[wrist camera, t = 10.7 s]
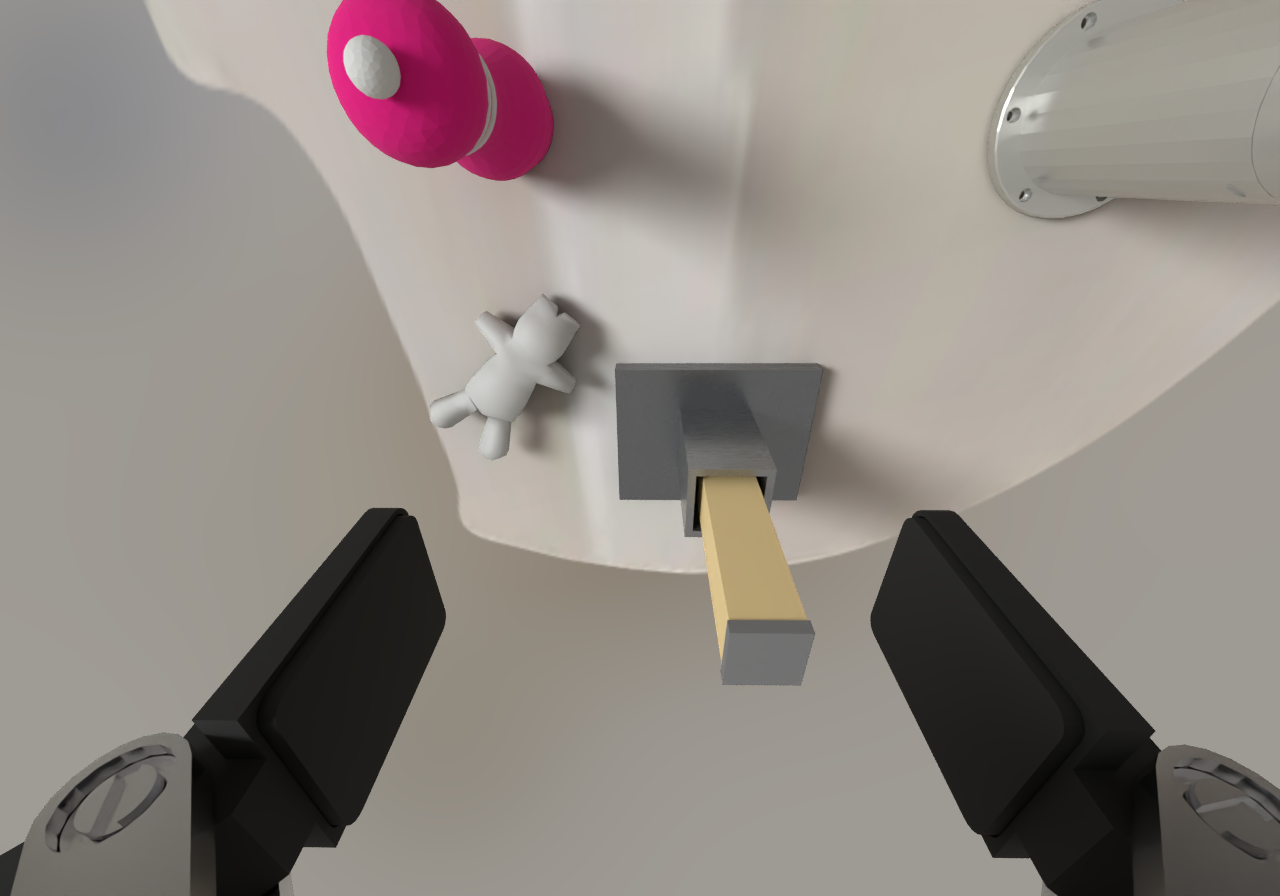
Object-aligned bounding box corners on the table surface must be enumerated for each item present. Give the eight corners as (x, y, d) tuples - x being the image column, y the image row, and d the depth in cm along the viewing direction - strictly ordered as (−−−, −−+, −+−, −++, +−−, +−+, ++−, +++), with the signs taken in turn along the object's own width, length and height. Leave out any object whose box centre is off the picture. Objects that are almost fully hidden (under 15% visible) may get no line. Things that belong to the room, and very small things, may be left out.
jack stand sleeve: (817, 363, 42) (875, 428, 31) (792, 491, 49) (832, 579, 38) (616, 363, 42) (605, 428, 31) (620, 490, 49) (612, 578, 38)
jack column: (750, 456, 37) (815, 633, 23) (744, 500, 40) (800, 687, 25) (698, 456, 38) (729, 633, 23) (695, 500, 40) (722, 686, 25)
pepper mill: (566, 177, 35) (487, 180, 18) (471, 182, 35) (299, 190, 18) (553, 52, 31) (435, -101, 14) (446, 58, 31) (201, -82, 14)
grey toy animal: (605, 354, 38) (500, 481, 42) (606, 340, 42) (511, 456, 46) (506, 273, 35) (403, 419, 39) (518, 268, 39) (425, 399, 43)
